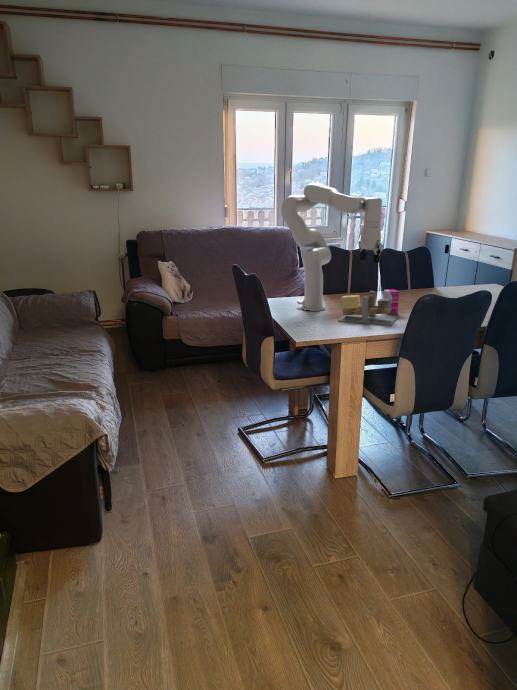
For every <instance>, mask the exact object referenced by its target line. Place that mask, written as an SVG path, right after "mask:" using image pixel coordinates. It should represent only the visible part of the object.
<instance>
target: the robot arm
mask: <svg viewBox="0 0 517 690" xmlns="http://www.w3.org/2000/svg"><path fill="white" fill-rule="evenodd" d="M318 204H321V205H323V206H328V207H330V208H332V209H334V210H335V211H336V210H337V211H340V212H344V213H345V214H346V213H348V214H354V215H355V214H362V213H363V214H364V218H363V219H364V220H363V227H362V230H361V234H360V238H359V239H360V240H359V241H358V243H357V244H358V249H359V252H360V253H359V254H360V256H359V257H360V259H359V260H360V261H366V260H367V250H368V251H373V253H374V254H373V259H372V261H373V262H372V263H373V264H379V263H380V259H381V258H380V257H381V254H382V252H383V250H384V248H385V245H384V244H383V243H382V240H381V239H382V235H381V234H382V233H381V219H382V205H383V200H382V198H381V197H379V196H378V197H377V196H376V197H373V196H371V197H369V196H368V197H367V196H363V195H362V196H349V195H346V194H343V193H339V191H338V190H337V189H336V188H333V187H330V186H327V185H326V184H325V183H322V182H311V183H308V184H306V186H304V189H303V194H294V195H293V194H292V195H289V196H287V197H285V198H284V200H283V201H282V204H281V206H280V207H281V208H280V209H281V211H280V212H281V216H282V218H283V221H284V223H285V224H286V226H287V227H288V229H289V231H290V234H291V235H292V237H293V239H294V241H295V242H296V244H297V246H298V247H299V248H300V249H307V250H306V251H305V252H304V254H303V257H302V262H303V269H304V297H303V298H304V299H302V300H301V299H297V301H296V303H297V305H302V306H301V308H302V309H301V310H303V309H304V310H303V311H306V310H310V311H309V312H321V311H324V310H326V306H325V305H323V296H324V295H323V293H324V292H323V291H324V290H323V289H324V287H323V286H324V273H323V268H322V266H324V265H327V264H328V263H330V261H331V259H332V252H331V249H330V247H329V246H328V243H327V242H326V240H325V238H324V237H323V235H322V233H321V232H320V231H319V230H318V229H316V228H309V227H308V226H307V225H306V223H305V220H304V218H303V217H301V215H300V214H299V213H301V212H302V213H303V212H307V211H309V210H310V209H313V208H314V207H315V206H317V205H318Z"/></svg>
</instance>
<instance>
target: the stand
mask: <svg viewBox="0 0 517 690" xmlns="http://www.w3.org/2000/svg"><path fill="white" fill-rule="evenodd" d="M369 296H372V306H376V305H375V302H376V291H374V290H369ZM369 296H362V305H361V306H362V315H342V317H340V318H339V319H338V320H337V322H341V323H349V324H350V323H351V324H361V325H363V324H364V325H372V326H373V325H374V326H385V327H392V325H394V323H395V322H396V320H397V319H398V316H392V315H391V316H390V315H388V316H387V315H380V314H368V300H369Z"/></svg>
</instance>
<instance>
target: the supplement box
mask: <svg viewBox="0 0 517 690" xmlns="http://www.w3.org/2000/svg"><path fill="white" fill-rule="evenodd" d="M382 297H383V298H382V299H389V298H390V300H391V312H390V313H389V314H388V315H395V314H398V312H399V311H398V309H399V299H400V291H399V290H397V289H391V288H390V289H383V296H382Z"/></svg>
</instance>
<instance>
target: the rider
mask: <svg viewBox="0 0 517 690" xmlns="http://www.w3.org/2000/svg"><path fill="white" fill-rule="evenodd" d="M360 297H361V296H360V294H355V295H353V294H351V295H343V296H341V299H340V301H341V311H342V313H343V309H361V307H360V306H361V298H360Z"/></svg>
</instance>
